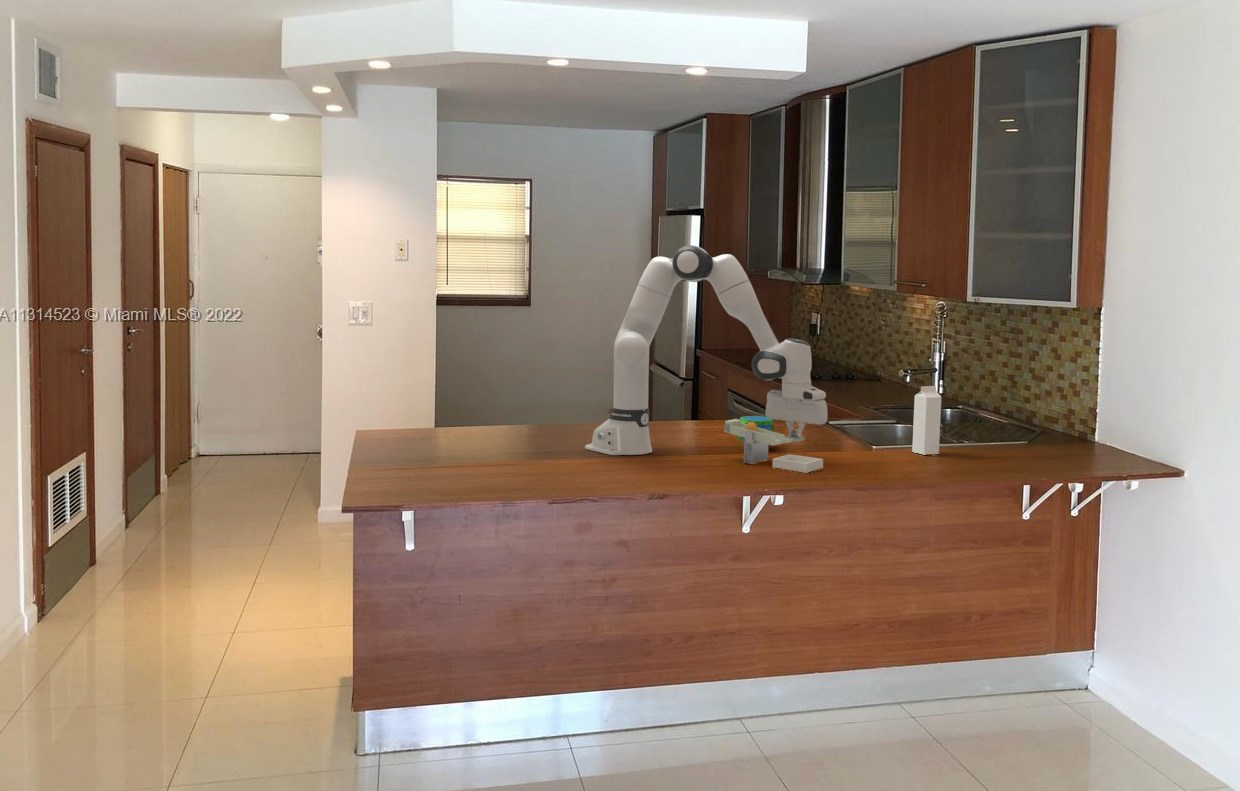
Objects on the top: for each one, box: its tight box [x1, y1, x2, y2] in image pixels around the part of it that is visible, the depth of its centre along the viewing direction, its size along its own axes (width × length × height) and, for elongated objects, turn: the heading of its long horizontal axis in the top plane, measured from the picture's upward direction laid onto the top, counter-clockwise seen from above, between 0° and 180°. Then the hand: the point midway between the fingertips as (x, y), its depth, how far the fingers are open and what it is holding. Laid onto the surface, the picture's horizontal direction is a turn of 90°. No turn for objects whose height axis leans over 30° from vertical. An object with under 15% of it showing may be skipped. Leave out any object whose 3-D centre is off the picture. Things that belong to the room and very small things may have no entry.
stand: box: [743, 429, 769, 464], centre depth 337 cm, size 3×9×10 cm, turn 140°
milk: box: [911, 385, 942, 455], centre depth 352 cm, size 6×6×22 cm
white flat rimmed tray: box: [772, 453, 824, 474], centre depth 328 cm, size 12×10×3 cm
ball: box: [745, 422, 757, 432], centre depth 337 cm, size 4×4×4 cm
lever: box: [723, 418, 805, 446], centre depth 340 cm, size 20×16×4 cm
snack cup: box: [736, 415, 775, 445], centre depth 360 cm, size 16×10×10 cm
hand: (795, 436), depth 339 cm, fingers closed
